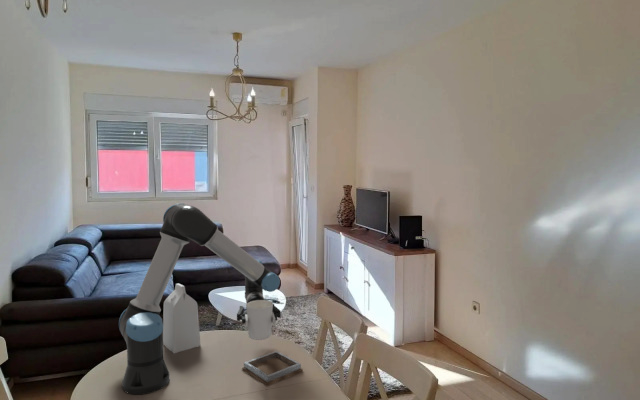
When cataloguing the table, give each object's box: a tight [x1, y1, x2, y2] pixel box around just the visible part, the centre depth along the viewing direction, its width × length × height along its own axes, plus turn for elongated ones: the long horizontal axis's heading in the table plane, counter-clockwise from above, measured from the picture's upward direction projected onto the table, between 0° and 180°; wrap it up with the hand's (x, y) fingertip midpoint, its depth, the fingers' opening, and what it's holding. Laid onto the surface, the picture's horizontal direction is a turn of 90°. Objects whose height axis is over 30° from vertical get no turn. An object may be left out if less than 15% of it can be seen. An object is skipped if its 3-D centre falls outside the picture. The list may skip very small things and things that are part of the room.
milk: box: [162, 283, 201, 354], centre depth 179 cm, size 12×12×26 cm
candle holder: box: [245, 299, 274, 341], centre depth 156 cm, size 10×10×12 cm
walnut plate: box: [241, 357, 304, 387], centre depth 156 cm, size 16×16×1 cm
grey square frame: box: [243, 350, 302, 383], centre depth 156 cm, size 15×15×2 cm
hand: (260, 322), depth 151 cm, fingers closed on candle holder, 9 cm apart
